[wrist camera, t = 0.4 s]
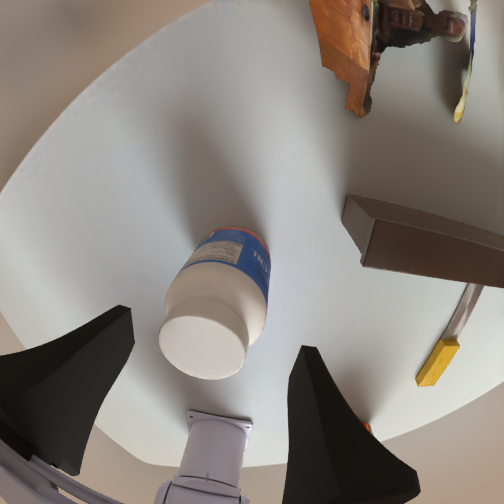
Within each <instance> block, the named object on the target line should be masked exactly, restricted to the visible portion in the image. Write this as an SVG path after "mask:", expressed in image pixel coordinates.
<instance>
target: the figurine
mask: <svg viewBox="0 0 504 504" xmlns="http://www.w3.org/2000/svg"><path fill="white" fill-rule="evenodd" d="M470 1H471V2H470V3H471V5H470V7H468V8H469V11H471V34H470V55H469V58H470V59H469V66H468V68H467V69H468V72H467V75H466V80H465V83H464V87H463V96H462V97H461V99H460V102H459V104H458V106H457V107H456V110H455V115H454V122H455V123H457V124H458V123H459V122H460V121H461V119H462V116H463V113H464V109H465V103H466V97H467V92H468V86H469V80H470V75H471V71H472V60H473V54H474V42H475V21H476V8H477V5H476V2H477V0H470ZM309 5H310V9H311V12H312V15H313V19H314V23H315V26H316V31H317V35H318V40H319V45H320V52H321V61H322V66H323V67H326V68H328V69H330V70H331V71H334V72H335V76H336V78H337V79H341V80H343V81H345V82H347V83H349V84H350V91H349V94H348V96H347V100H346V107H345V108H346V109H349V110H350V111H351V110H354V113H355V114H356V115H357V117H359V118H362V117H364V116H366V115H367V114H368V113H369V112H370V110H371V105H372V99H371V96H370V89H371V85H372V84H373V82H374V79H375V73H376V68H377V66H378V65H379V63H378V61H379V60H380V55H381V53H382V52H383V51H384V50H385V48H386V47H388V46H389V47H391V46H394V47H398V48H405V46H411V45H412V44H416V43H420V44H422V43H424V42H429V41H430V40H431V38H434V37H437V35H439V36H441V37H442V38H443V39H444V40H449V41H451V42H459V41H460V40H461V39H462V37H463V34H464V33H465V32H466V29H467V23H468V19H467V16H466V15H464V14H461V13H459V12H451V11H447V10H443V11H441V12H439V14H434V12H433V11H432V9H431V8H430V6H429V4H427V3H426V1H425V0H310V1H309Z"/></svg>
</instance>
